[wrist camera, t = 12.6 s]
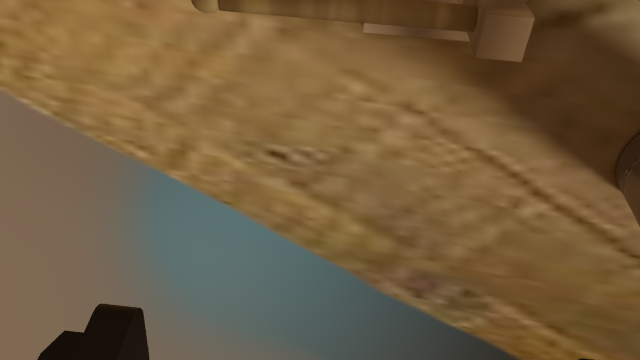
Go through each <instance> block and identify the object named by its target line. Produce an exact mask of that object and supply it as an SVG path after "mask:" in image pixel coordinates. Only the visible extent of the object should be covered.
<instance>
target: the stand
mask: <svg viewBox="0 0 640 360" xmlns="http://www.w3.org/2000/svg"><path fill="white" fill-rule="evenodd" d="M191 1H192V3H193V5H194V7H195V8H196V9H198V10H199V11H201V12H203V13H214V12H216V11H218V10H219V9H220V11H230V12H242V13H253V14H265V15H276V16H288V17H299V18H311V19H322V20H334V21H345V22H357V23H363V32H365V33H376V34H388V35H399V36H411V37H422V38H434V39H445V40H457V41H469V42H470V43H471V46H472V49H473V52H474V55H475V58H480V59H492V60H503V61H515V62H522V59H523V56H524V52H525V49H526V46H527V43H528V40H529V36H530V33H531V30H532V27H533V24H534V20H535V17H534V15H533V14H532V12H531V10H530V8H529V6H528V4H527V3H526V1H525V0H191Z"/></svg>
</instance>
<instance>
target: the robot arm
mask: <svg viewBox="0 0 640 360" xmlns="http://www.w3.org/2000/svg"><path fill="white" fill-rule="evenodd" d="M616 179H617V183H618V186H619V188H620V189H621V191H622V193H623V195H624V197H625V199H626V201H627V203H628V205H629V207H630V208H631V210H632V212H633V214H634V216H635V218H636V220H637V222H638V224H639V226H640V134H639V135H637V136H636V137H635V138H634V139H633V140H632V141H631V142H630V143H629V144H628V145H627V146H626V148H625V149H624V151H623V153H622V154H621V156H620V158H619V161H618V164H617V166H616ZM38 360H149V352H148V344H147V336H146V329H145V322H144V314H143V310H142V309H141V308H136V307H127V306H118V305H109V304H99V305H98V306H97V307H96V308H95V310H94V312H93V314H92V316H91V318H90V320H89V322H88V325H87V327H86V329H85V331H84V333H82V332H72V331H64V332H63V333H62V334H60V335H59V336H58V337H57V338H56V339H55V340H54V341H53V342H52V343H51V344H50V345H49V346H48V347H47V348H46V349H45V350H44V351H43V352H42V353H41V354H40V356H39V358H38ZM579 360H593V359H584V358H581V359H579Z"/></svg>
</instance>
